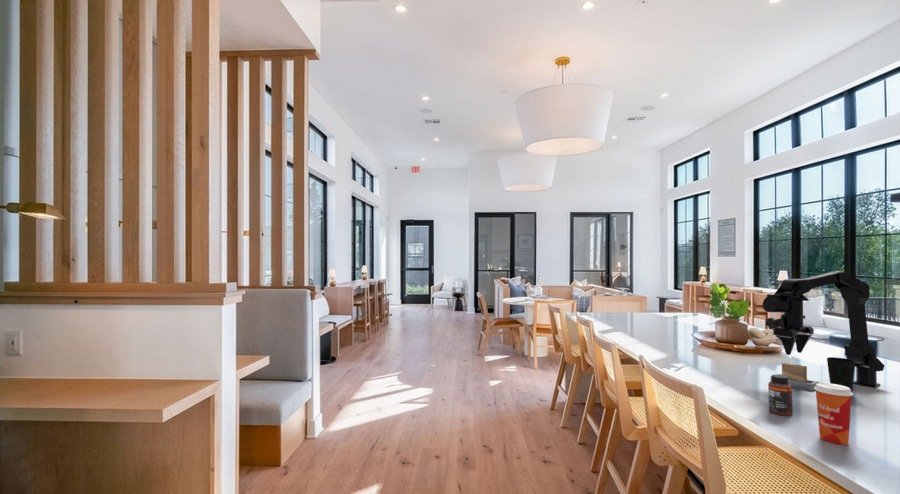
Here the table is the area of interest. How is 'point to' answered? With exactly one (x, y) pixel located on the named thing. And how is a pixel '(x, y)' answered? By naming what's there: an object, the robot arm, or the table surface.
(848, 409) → the paper cup
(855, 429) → the table surface
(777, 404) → the supplement bottle
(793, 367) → the oak panel
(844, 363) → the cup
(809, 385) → the track
